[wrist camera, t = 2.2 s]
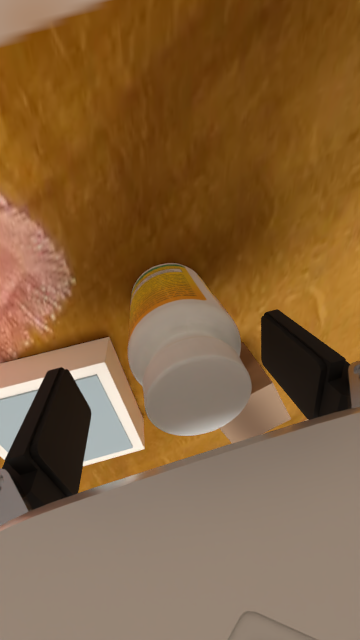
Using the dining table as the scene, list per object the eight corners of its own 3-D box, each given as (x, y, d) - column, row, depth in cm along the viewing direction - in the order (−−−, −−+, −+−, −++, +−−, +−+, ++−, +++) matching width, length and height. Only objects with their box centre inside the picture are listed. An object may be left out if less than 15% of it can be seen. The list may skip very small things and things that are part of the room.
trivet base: (109, 336, 17) (104, 363, 14) (143, 419, 22) (144, 450, 19) (-27, 370, 16) (-58, 404, 14) (40, 447, 22) (26, 483, 19)
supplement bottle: (217, 283, 17) (300, 371, 8) (179, 338, 18) (216, 457, 10) (153, 245, 14) (177, 312, 6) (117, 311, 16) (99, 432, 8)
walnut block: (242, 341, 20) (272, 382, 15) (260, 375, 22) (291, 418, 18) (193, 369, 20) (209, 416, 16) (216, 399, 23) (235, 447, 18)
